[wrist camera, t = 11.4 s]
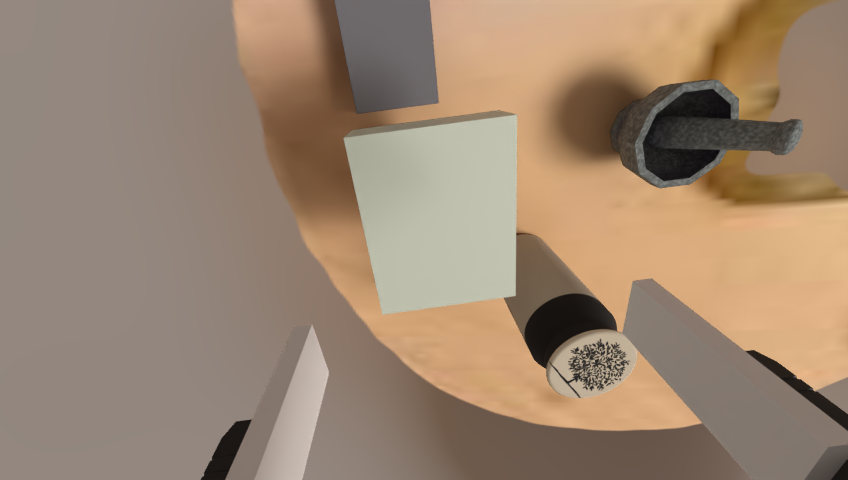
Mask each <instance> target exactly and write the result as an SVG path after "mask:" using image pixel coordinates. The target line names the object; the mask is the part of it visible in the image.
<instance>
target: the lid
mask: <svg viewBox="0 0 848 480" xmlns="http://www.w3.org/2000/svg"><path fill="white" fill-rule="evenodd" d="M344 143H345V147H346V152H347V156H348V161H349V165H350V170H351V174H352V179H353V184H354V188H355V193H356V197H357V202H358V206H359V211H360V215H361V220H362V224H363V229H364V233H365V238H366V242H367V247H368V251H369V256H370V260H371V265H372V269H373V274H374V278H375V283H376V287H377V292H378V296H379V301H380V305H381V310H382V314H383V315H384V314H391V313H398V312H405V311H412V310H420V309H427V308H434V307H441V306H448V305H455V304H462V303H469V302H476V301H484V300H491V299H498V298H505V297H512V296H516V185H517V115H516V114H512V113H508V112H504V111H500V110H498V111H490V112H483V113H475V114H468V115H460V116H453V117H445V118H438V119H431V120H423V121H416V122H408V123H401V124H393V125H386V126H378V127H371V128H363V129H356V130H351V131H350V132H349V133H348V134H347V135H346V136H345V137H344Z"/></svg>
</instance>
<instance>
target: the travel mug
mask: <svg viewBox="0 0 848 480" xmlns="http://www.w3.org/2000/svg"><path fill="white" fill-rule="evenodd" d="M504 300H505V302H506V304H507V306H508V308H509V310H510V312H511V314H512V316H513V318H514V320H515V322H516V324H517V326H518V328H519V330H520V332H521V334H522V336H523V338H524V340H525V342H526V344H527V346H528V348H529V350H530V352H531V354H532V356H533V358H534V360H535V361H536V362H537V363H538V364H539V365H541V366H542V367H544V368H546V376H547V380H548V383H549V384H550V386H551V387H552V388H553V389H554V390H555V391H556V392H558V393H559V394H561V395H564V396H567V397H572V398H588V397H593V396H597V395H600V394H603V393H605V392H608V391H610V390H612V389H613V388H615V387H616V386H618V385H619V384H621V383H622V382H623V381H624V380H625V379H626V378H627V377H628V376H629V375H630V373H631V372H632V370H633V368H634V366H635V364H636V360H637V350H636V348H635V346H634V345H633V344H632V343H631V342H630V341H629V340H628V339H627V337H626V336H625V335H624V334H623V333H621V332H618V331H617V326H616V321H615V319H614V317H613V315H612V314H611V313H610V312H609V311H608V310H607V309H606V308H605V306H604V305H603V304H602V303H601V302H600V301H599V300H598V299H597V298H596V297H595V296H594V295H593V294H592V293H591V291H590V290H589V289H588V288H587V287H586V286H585V285H584V284H583V283H582V282H581V281H580V280H579V279H578V277H577V276H576V275H575V274H574V273H573V272H572V271H571V270H570V269H569V268H568V267H567V266H566V265H565V263H564V262H563V261H562V260H561V259H560V258H559V257H558V256H557V255H556V254H555V253H554V252H553V251H552V249H551V248H550V247H549V246H548V245H547V244H546V243H545V242H544V241H543V240H542V239H540V238H539V237H537V236H534V235H530V234H521V235H516V296H512V297H505V298H504Z"/></svg>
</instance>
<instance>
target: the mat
mask: <svg viewBox="0 0 848 480" xmlns="http://www.w3.org/2000/svg"><path fill="white" fill-rule="evenodd" d="M334 1H335V6H336V11H337V16H338V21H339V26H340V31H341V36H342V41H343V47H344V52H345V57H346V62H347V67H348V72H349V77H350V82H351V87H352V92H353V97H354V103H355V108H356V113H357V114H360V113H368V112H375V111H383V110H391V109H398V108H406V107H413V106H421V105H428V104H436V103H439V101H438V90H437V79H436V68H435V56H434V45H433V34H432V23H431V12H430V1H429V0H334Z"/></svg>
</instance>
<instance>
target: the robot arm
mask: <svg viewBox="0 0 848 480" xmlns="http://www.w3.org/2000/svg"><path fill="white" fill-rule="evenodd" d="M622 333H623V334H624V335H625V336H626V337H627V339H628V340H629V341H630V342H631V343H632V344H633V345H634V346H635V348H636V349H637V350H638V351H639V352H640V353H641V354H642V355H643V357H644V358H645V359H646V360H647V361H648V362H649V363H650V364H651V366H652V367H653V368H654V369H655V370H656V371H657V372H658V373H659V375H660V376H661V377H662V378H663V379H664V380H665V381H666V382H667V384H668V385H669V386H670V387H671V388H672V389H673V390H674V391H675V393H676V394H677V395H678V396H679V397H680V398H681V399H682V400H683V402H684V403H685V404H686V405H687V406H688V407H689V408H690V409H691V411H692V412H693V413H694V414H695V415H696V416H697V417H698V418H699V420H700V421H701V422H702V423H703V424H704V425H705V426H706V427H707V429H708V430H709V431H710V432H711V433H712V434H713V435H714V436H715V437H716V439H717V440H718V441H719V442H720V443H721V444H722V445H723V446H724V448H725V449H726V450H727V451H728V452H729V453H730V454H731V456H732V457H733V458H734V459H735V460H736V461H737V462H738V463H739V464H740V466H741V467H742V468H743V469H744V470H745V471H746V472H747V474H748V475H749V476H750V477H751V478H752V479H753V480H848V414H847V413H845V412H844V411H843V410H841V409H840V408H839V407H837V406H836V405H835V404H833V403H831V402H830V401H829V400H828V399H826V398H825V397H824V396H822V395H821V394H819V393H818V392H815V391H813V388H812V387H810V386H809V385H808V384H806V383H805V382H803V381H802V380H801V379H797V377H796V376H795V375H794V374H793V373H791V372H790V371H789V370H787V369H786V368H785V367H783V366H782V365H780V364H779V363H778V362H776V361H774V360H772V359H770V358H768V357H766V356H764V355H762V354H760V353H758V352H756V351H754V350H751V351H744V350H743V349H742V348H740V347H739V346H738V345H736V344H735V343H734V342H733V341H731V340H730V339H729V338H727V337H726V336H725V335H724V334H722V333H721V332H720V331H718V330H717V329H716V328H715V327H713V326H712V325H711V324H709V323H708V322H707V321H706V320H704V319H703V318H702V317H700V316H699V315H698V314H697V313H695V312H694V311H693V310H691V309H690V308H689V307H688V306H686V305H685V304H684V303H682V302H681V301H680V300H679V299H677V298H676V297H675V296H673V295H672V294H671V293H670V292H668V291H667V290H666V289H664V288H663V287H662V286H661V285H659V284H658V283H657V282H655V281H654V280H653V279H644V280H637V281H633V283H632V288H631V293H630V298H629V303H628V308H627V313H626V318H625V323H624V328H623V332H622ZM328 375H329V372H328V369H327V366H326V363H325V360H324V357H323V354H322V351H321V348H320V346H319V343H318V340H317V337H316V334H315V331H314V329H313V326H312V325H305V326H297V327H293V329H292V331H291V333H290V336H289V338H288V340H287V342H286V345H285V347H284V349H283V351H282V353H281V356H280V358H279V360H278V362H277V365H276V367H275V369H274V371H273V374H272V376H271V378H270V380H269V383H268V385H267V387H266V390H265V392H264V394H263V396H262V398H261V401H260V403H259V405H258V407H257V410H256V412H255V414H254V417H253V418H252V420H245V421H237V422H235V424H234V425H233V426H232V427H231V428H230V429H229V431H228V432H227V433H226V434H225V435H224V436H223V437H222V439H221V441H220V443H219V445H218V447H217V449H216V451H215V452H214V455H213V456H212V461H210V463H209V464H208V466H207V468H206V470H205V472H204V477H202V478H201V480H302V478H303V474H304V470H305V466H306V462H307V458H308V454H309V450H310V446H311V442H312V438H313V434H314V430H315V426H316V422H317V418H318V414H319V410H320V406H321V402H322V399H323V395H324V391H325V386H326V382H327V379H328Z"/></svg>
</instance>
